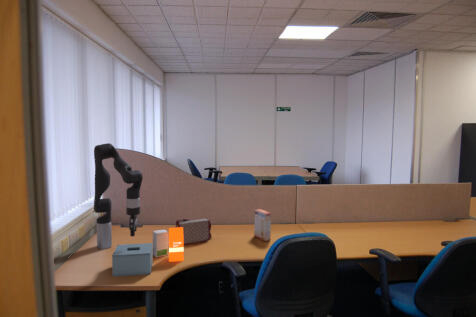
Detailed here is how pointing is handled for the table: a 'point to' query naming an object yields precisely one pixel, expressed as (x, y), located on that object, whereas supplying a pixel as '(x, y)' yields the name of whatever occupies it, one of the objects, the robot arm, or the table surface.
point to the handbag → (195, 230)
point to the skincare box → (160, 243)
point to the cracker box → (262, 224)
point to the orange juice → (176, 244)
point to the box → (132, 259)
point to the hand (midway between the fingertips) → (133, 233)
